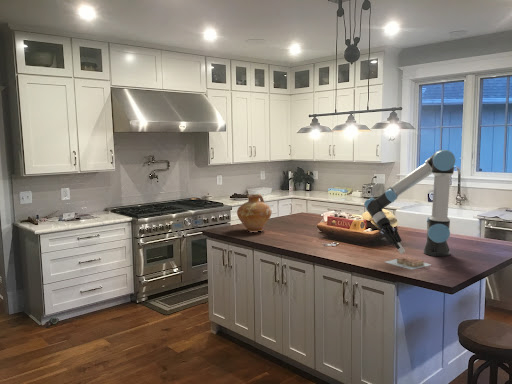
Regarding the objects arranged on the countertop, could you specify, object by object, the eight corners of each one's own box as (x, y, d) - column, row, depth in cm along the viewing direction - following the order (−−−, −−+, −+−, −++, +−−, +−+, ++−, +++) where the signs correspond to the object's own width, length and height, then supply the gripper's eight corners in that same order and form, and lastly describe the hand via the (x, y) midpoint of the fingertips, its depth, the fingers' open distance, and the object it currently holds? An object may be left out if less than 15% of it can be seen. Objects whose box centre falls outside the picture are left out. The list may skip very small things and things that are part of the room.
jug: (230, 232, 361) (229, 195, 358) (251, 226, 383) (250, 192, 380) (258, 236, 344) (257, 197, 341) (278, 230, 366) (278, 193, 363)
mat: (383, 262, 261) (383, 261, 261) (403, 258, 270) (403, 257, 270) (411, 270, 244) (411, 269, 244) (431, 265, 253) (432, 264, 253)
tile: (397, 258, 258) (414, 263, 248) (406, 256, 262) (423, 260, 252) (397, 262, 258) (414, 267, 248) (406, 260, 262) (423, 265, 252)
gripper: (385, 223, 277) (407, 254, 265) (370, 225, 270) (392, 258, 258) (392, 215, 272) (414, 247, 260) (377, 217, 265) (399, 250, 253)
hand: (403, 252), depth 259 cm, fingers closed
